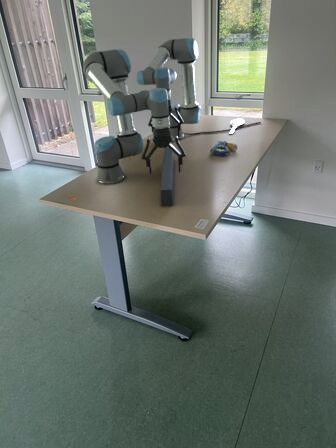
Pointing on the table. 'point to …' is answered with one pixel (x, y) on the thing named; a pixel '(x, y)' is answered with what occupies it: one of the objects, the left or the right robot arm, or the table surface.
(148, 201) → the table surface
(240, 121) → the spoon
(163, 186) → the bar
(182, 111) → the right robot arm
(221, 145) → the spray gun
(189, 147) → the table surface
